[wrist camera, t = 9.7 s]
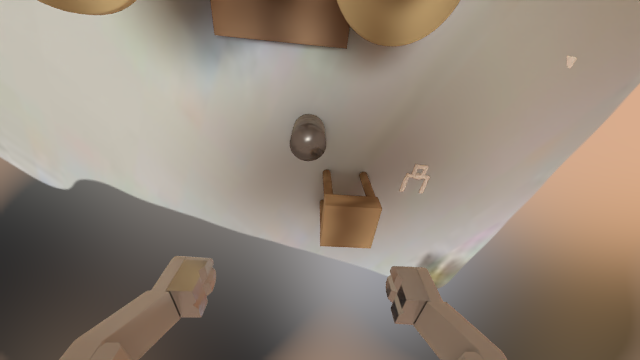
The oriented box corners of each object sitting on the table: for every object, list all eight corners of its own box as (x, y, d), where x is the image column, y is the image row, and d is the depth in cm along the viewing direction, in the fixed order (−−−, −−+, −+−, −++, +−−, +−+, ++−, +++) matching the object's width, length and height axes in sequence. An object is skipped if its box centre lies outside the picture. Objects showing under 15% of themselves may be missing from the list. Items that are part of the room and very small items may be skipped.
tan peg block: (367, 172, 30) (382, 208, 23) (359, 207, 33) (370, 248, 26) (323, 169, 29) (325, 205, 23) (319, 205, 32) (320, 245, 26)
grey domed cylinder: (326, 115, 26) (327, 128, 22) (323, 145, 28) (324, 162, 24) (294, 112, 26) (290, 125, 22) (293, 142, 27) (289, 159, 24)
